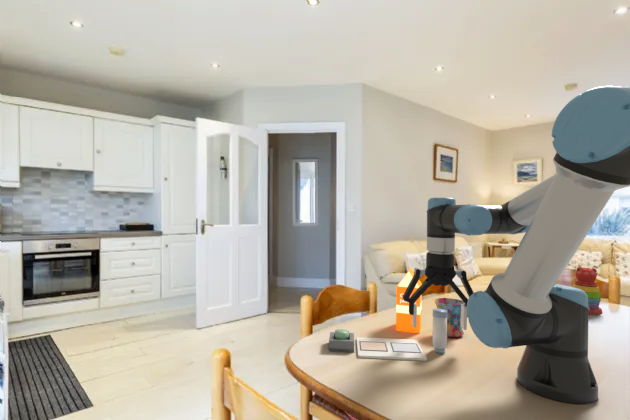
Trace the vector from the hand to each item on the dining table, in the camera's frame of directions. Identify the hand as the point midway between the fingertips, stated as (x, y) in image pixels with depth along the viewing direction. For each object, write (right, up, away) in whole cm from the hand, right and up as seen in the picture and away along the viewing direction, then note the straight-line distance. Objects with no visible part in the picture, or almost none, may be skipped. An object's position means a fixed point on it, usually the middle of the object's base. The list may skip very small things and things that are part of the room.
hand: (438, 327), depth 101 cm
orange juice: (-3, -7, +20) cm, 21 cm away
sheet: (-14, -7, +1) cm, 15 cm away
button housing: (-27, -6, +2) cm, 28 cm away
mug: (+9, -7, +15) cm, 19 cm away
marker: (0, -7, 0) cm, 7 cm away
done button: (-27, -4, +2) cm, 28 cm away
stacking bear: (+74, -8, +43) cm, 86 cm away
